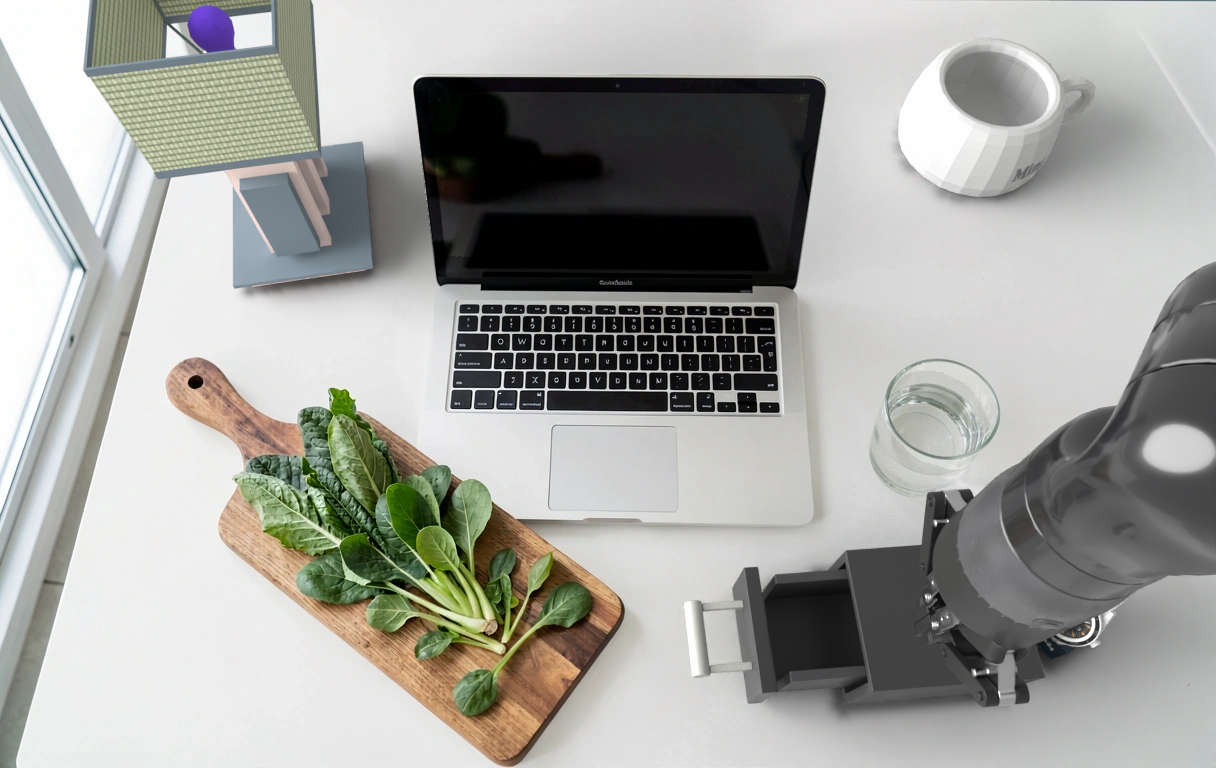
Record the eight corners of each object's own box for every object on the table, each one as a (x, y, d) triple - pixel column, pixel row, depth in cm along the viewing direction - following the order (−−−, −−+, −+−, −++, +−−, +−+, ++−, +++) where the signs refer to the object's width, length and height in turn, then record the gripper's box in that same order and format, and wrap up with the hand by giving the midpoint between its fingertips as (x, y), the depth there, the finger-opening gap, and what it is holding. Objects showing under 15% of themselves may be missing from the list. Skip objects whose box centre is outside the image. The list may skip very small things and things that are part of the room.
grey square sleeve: (843, 704, 77) (872, 691, 69) (820, 576, 82) (845, 550, 74) (998, 692, 78) (1045, 677, 70) (967, 565, 83) (1007, 538, 75)
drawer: (689, 708, 76) (698, 698, 70) (677, 591, 81) (684, 571, 74) (892, 692, 77) (920, 680, 70) (869, 577, 81) (893, 556, 75)
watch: (991, 616, 81) (1046, 588, 71) (1058, 571, 83) (1120, 538, 73) (1034, 672, 79) (1096, 651, 69) (1101, 625, 81) (1172, 598, 71)
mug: (921, 217, 100) (954, 157, 91) (872, 103, 107) (897, 37, 98) (1100, 186, 102) (1149, 124, 93) (1040, 76, 109) (1080, 10, 100)
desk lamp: (378, 285, 95) (279, 46, 66) (241, 305, 94) (78, 70, 65) (366, 150, 103) (273, -117, 74) (240, 167, 102) (95, -98, 72)
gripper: (1162, 684, 41) (1012, 725, 57) (1070, 420, 47) (957, 523, 62) (1000, 699, 41) (894, 737, 56) (928, 432, 47) (850, 532, 62)
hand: (927, 624), depth 59 cm, fingers closed
